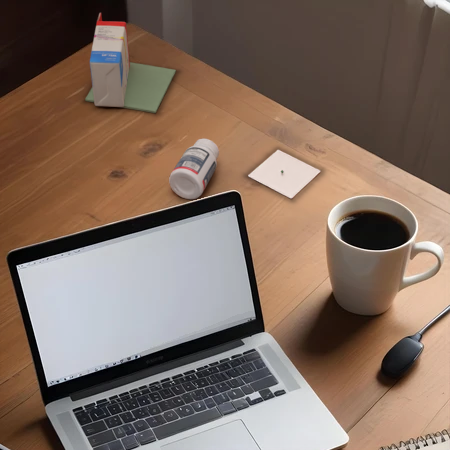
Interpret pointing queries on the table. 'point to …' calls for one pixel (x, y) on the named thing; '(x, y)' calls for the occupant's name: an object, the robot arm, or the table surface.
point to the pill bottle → (194, 169)
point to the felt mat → (144, 87)
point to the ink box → (109, 63)
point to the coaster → (284, 173)
